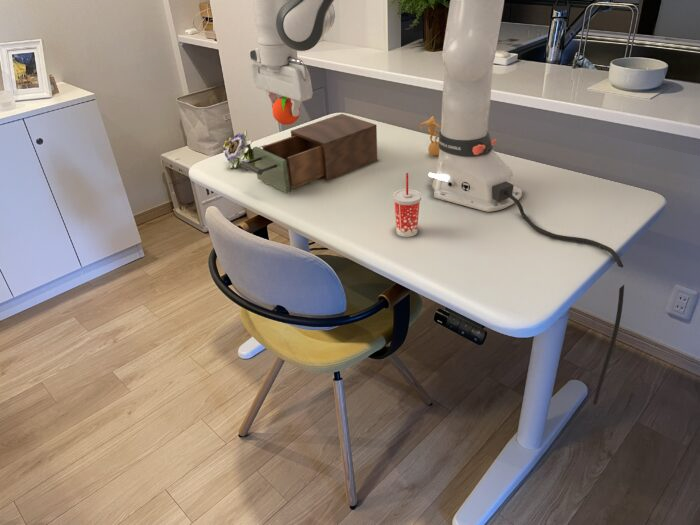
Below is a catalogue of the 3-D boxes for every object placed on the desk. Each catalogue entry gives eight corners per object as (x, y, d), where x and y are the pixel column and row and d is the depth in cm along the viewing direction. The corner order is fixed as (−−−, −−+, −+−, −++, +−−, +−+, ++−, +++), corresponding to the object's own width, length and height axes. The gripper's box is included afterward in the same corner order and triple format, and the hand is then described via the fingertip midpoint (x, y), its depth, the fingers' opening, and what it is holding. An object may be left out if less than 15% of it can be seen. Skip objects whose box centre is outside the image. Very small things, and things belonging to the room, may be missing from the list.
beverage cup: (426, 230, 122) (428, 172, 114) (409, 241, 118) (409, 182, 110) (404, 222, 125) (404, 165, 118) (387, 232, 122) (386, 174, 114)
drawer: (267, 201, 136) (262, 168, 131) (239, 185, 145) (233, 154, 140) (338, 172, 148) (336, 141, 143) (308, 159, 157) (305, 129, 152)
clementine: (300, 129, 135) (296, 100, 131) (272, 131, 135) (268, 102, 131) (302, 118, 142) (299, 91, 138) (275, 120, 142) (272, 92, 138)
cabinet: (327, 181, 146) (324, 143, 140) (294, 166, 155) (290, 130, 150) (377, 160, 156) (376, 124, 150) (344, 148, 165) (341, 113, 159)
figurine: (451, 155, 156) (453, 114, 149) (440, 163, 152) (442, 121, 146) (426, 150, 160) (427, 109, 154) (415, 157, 157) (415, 116, 150)
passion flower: (236, 185, 160) (212, 150, 158) (265, 167, 165) (241, 133, 163) (248, 174, 150) (222, 137, 148) (278, 156, 155) (253, 119, 153)
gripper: (316, 57, 124) (320, 117, 132) (265, 46, 137) (272, 101, 145) (293, 63, 121) (300, 124, 128) (244, 51, 134) (252, 106, 142)
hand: (285, 111), depth 137 cm, fingers closed on clementine, 7 cm apart
